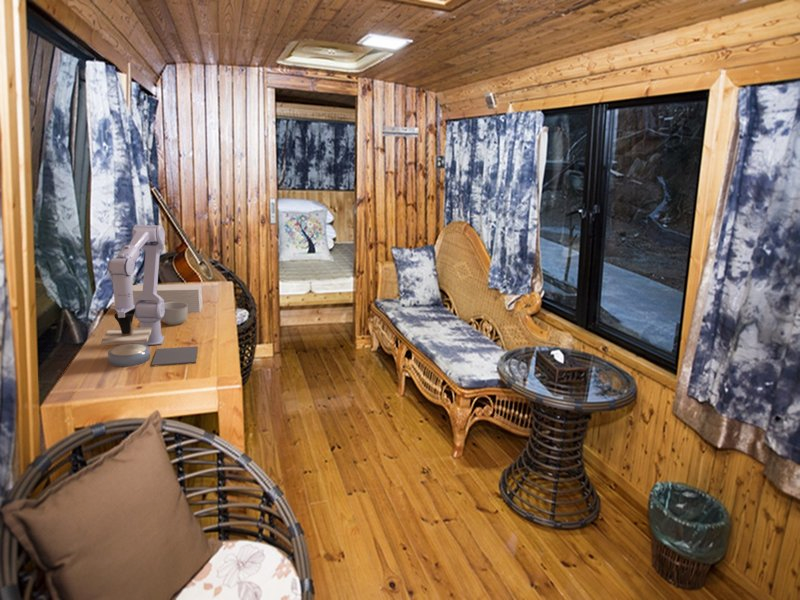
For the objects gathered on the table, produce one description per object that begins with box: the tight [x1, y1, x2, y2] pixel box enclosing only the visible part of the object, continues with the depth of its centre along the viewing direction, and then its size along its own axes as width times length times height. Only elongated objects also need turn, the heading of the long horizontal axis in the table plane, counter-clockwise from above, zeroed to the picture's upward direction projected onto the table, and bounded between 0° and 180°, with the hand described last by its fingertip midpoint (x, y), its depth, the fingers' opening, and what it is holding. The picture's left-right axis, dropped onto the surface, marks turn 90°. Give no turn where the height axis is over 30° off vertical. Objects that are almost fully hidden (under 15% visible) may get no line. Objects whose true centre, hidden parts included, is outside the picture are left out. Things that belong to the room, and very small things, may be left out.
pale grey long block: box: [132, 283, 204, 314], centre depth 256 cm, size 32×11×11 cm, turn 102°
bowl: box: [107, 343, 151, 368], centre depth 197 cm, size 13×13×4 cm
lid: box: [100, 321, 152, 346], centre depth 195 cm, size 14×14×5 cm
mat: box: [151, 346, 199, 367], centre depth 201 cm, size 16×14×1 cm
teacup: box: [160, 302, 189, 326], centre depth 237 cm, size 14×11×8 cm
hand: (127, 332), depth 195 cm, fingers closed on lid, 3 cm apart
